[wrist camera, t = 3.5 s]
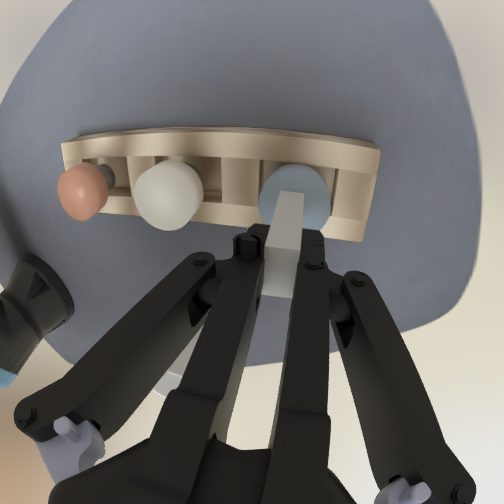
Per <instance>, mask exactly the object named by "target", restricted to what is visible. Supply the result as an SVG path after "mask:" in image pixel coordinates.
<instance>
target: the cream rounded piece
mask: <svg viewBox="0 0 504 504" xmlns="http://www.w3.org/2000/svg"><path fill="white" fill-rule="evenodd" d="M202 182H203V180H202V175H201V173H200V171H199V170H198V169H197V168H196V167H195V166H194V165H191V164H188V163H183V162H180V161H177V160H166V161H162V162H160V163H158V164H157V165H155V166H153V167H152V168H150V169H148V170H147V171H145V172H144V173H143V174H141V175H140V177H139V178H138V179H137V181H136V183H135V187H134V201H135V205H136V207H137V209H138V211H139V213H140V214H141V216H142V217H143V218H144V219H145V220H146V221H147V222H148V223H149V224H151V225H152V226H154V227H156V228H158V229H161V230H166V231H172V230H177V229H180V228H181V227H183V226H184V225H186V224H187V222H188V221H189V220H190V219H191V218H192V216H193V215H194V214H195V213H196V212H197V210H198V209H199V208H200V206H201V204H202V201H203V186H202Z"/></svg>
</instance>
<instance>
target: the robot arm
mask: <svg viewBox="0 0 504 504" xmlns="http://www.w3.org/2000/svg"><path fill="white" fill-rule="evenodd" d="M303 207H304V193H298V192H290V191H281V190H280V194H279V197H278V201H277V204H276V208H275V211H274V215H273V218H272V222H271V225H266V224H258V223H254V224H253V225H252V226H250V227H249V229H248V231H247V233H242V234H239V235H237V236H235V237H234V238H233V257H232V258H230V259H227V260H217V261H215V257H214V256H213V255H212V254H210V253H208V252H196V253H193V254H191V255H189V256H188V257H187V258H186V259H184V260H183V261H182V262H181V263H180V264H179V265H178V266H177V267H176V268H175V269H173V270H172V271H171V272H170V273H169V274H168V275H167V276H166V277H165V278H164V279H163V280H161V281H160V282H159V283H158V284H157V285H156V286H155V287H154V288H153V289H152V290H151V291H150V292H149V293H148V294H146V295H145V296H144V297H143V298H142V299H141V300H140V301H139V302H138V303H137V304H136V305H135V306H134V307H133V308H132V309H131V310H130V311H129V312H128V313H126V314H125V315H124V316H123V317H122V318H121V319H120V320H119V321H118V322H117V323H116V324H115V325H114V326H113V327H112V328H111V329H110V330H109V331H108V332H107V333H106V334H105V335H104V336H103V337H102V338H101V339H100V340H99V341H98V342H97V343H96V344H95V345H94V346H93V347H92V348H91V349H90V350H89V351H88V352H87V353H86V354H85V355H84V356H83V357H82V358H81V359H80V360H79V361H78V362H77V363H76V364H75V365H74V366H73V367H72V368H71V369H70V370H69V371H68V372H67V373H66V375H65V376H64V377H63V378H61V379H59V380H57V381H56V382H54V383H52V384H50V385H48V386H46V387H45V388H43V389H41V390H39V391H37V392H35V393H34V394H32V395H30V396H28V397H26V398H24V399H23V400H21V401H20V402H19V403H18V405H17V406H16V408H15V411H14V422H15V424H16V426H17V428H18V429H20V430H21V431H22V432H23V433H24V434H26V435H27V436H29V437H30V438H32V439H33V440H34V441H35V442H36V444H37V446H38V448H39V451H40V453H41V455H42V458H43V460H44V462H45V464H46V466H47V469H48V471H49V473H50V474H51V477H52V479H53V481H54V482H55V484H56V485H55V487H54V488H53V489H52V491H51V493H50V496H49V500H48V504H357V503H356V502H355V501H354V499H353V498H352V497H351V495H350V494H349V493H348V491H347V490H346V489H345V487H344V486H343V484H342V483H341V482H340V480H339V479H338V478H337V476H336V475H335V474H334V473H333V472H332V471H331V470H330V469H329V468H327V467H328V457H329V446H330V433H331V419H330V416H329V415H328V414H327V403H328V382H329V381H328V380H329V319H330V320H331V326H332V329H333V332H334V335H335V338H336V341H337V345H338V348H339V351H340V354H341V357H342V361H343V364H344V367H345V371H346V374H347V378H348V381H349V385H350V388H351V392H352V395H353V399H354V403H355V406H356V410H357V413H358V418H359V421H360V425H361V429H362V433H363V437H364V441H365V445H366V449H367V453H368V458H369V462H370V466H371V469H372V472H373V476H374V478H375V481H376V483H377V485H378V488H379V489H380V492H379V493H378V495H377V496H376V499H375V501H374V504H472V502H473V501H474V498H475V495H476V484H475V482H474V480H473V478H472V477H471V476H470V475H469V473H468V472H467V470H465V468H464V466H463V465H462V464H461V462H460V461H459V460H458V459H457V457H456V456H455V455H454V453H453V452H452V451H451V449H450V448H449V447H448V446H447V444H446V443H445V440H444V437H443V434H442V432H441V429H440V426H439V423H438V421H437V418H436V415H435V412H434V410H433V407H432V405H431V402H430V400H429V397H428V395H427V392H426V390H425V388H424V385H423V383H422V380H421V378H420V376H419V373H418V371H417V369H416V367H415V364H414V362H413V360H412V358H411V355H410V353H409V351H408V349H407V347H406V345H405V343H404V340H403V339H402V336H401V334H400V332H399V330H398V328H397V326H396V324H395V322H394V320H393V318H392V316H391V314H390V312H389V311H388V309H387V307H386V305H385V303H384V301H383V299H382V297H381V295H380V294H379V292H378V290H377V288H376V286H375V284H374V283H373V281H372V279H371V278H370V277H369V276H368V275H366V274H365V273H363V272H360V271H348V272H347V273H345V275H344V276H341V275H338V274H336V273H334V272H332V271H330V270H329V269H328V266H327V263H326V262H325V249H324V235H323V234H322V233H321V232H320V230H313V229H305V228H302V222H303ZM261 291H262V295H268V296H276V297H283V298H290V299H292V304H291V310H290V316H289V318H290V319H289V326H288V333H287V340H286V347H285V354H284V361H283V367H282V374H281V380H280V386H279V393H278V398H277V404H276V409H275V415H274V420H273V426H272V431H271V436H270V441H269V445H268V449H256V450H239V449H236V448H234V447H232V446H230V445H228V444H226V438H227V431H228V427H229V423H230V419H231V415H232V412H233V408H234V404H235V400H236V396H237V393H238V389H239V384H240V381H241V377H242V373H243V369H244V366H245V362H246V358H247V354H248V350H249V346H250V342H251V338H252V334H253V330H254V326H255V322H256V318H257V313H258V309H259V305H260V298H261ZM73 313H74V306H73V302H72V299H71V297H70V295H69V293H68V291H67V289H66V288H65V286H64V285H63V283H62V282H61V280H60V279H59V278H58V276H57V275H56V274H55V273H54V272H53V271H52V270H51V268H50V267H49V266H47V265H46V264H45V263H44V262H43V261H41V260H40V259H38V258H37V257H35V256H32V255H27V256H25V257H24V258H23V259H22V260H21V261H20V262H19V263H18V264H17V266H16V268H15V270H14V271H13V273H12V275H11V277H10V279H9V281H8V283H7V286H6V287H5V289H4V290H3V291H2V292H1V293H0V388H6V387H8V386H9V385H10V384H11V383H12V381H13V380H14V379H15V378H16V376H18V373H19V371H20V370H21V368H22V367H23V365H24V364H25V362H26V361H27V360H28V358H29V357H30V355H31V354H32V352H33V351H34V350H35V348H36V347H37V345H38V344H39V343H40V341H41V340H42V339H43V337H44V336H45V335H47V334H48V333H50V332H51V331H53V330H55V329H56V328H58V327H59V326H61V325H62V324H64V323H66V322H67V321H68V320H69V318H70V317H71V316H72V315H73ZM202 326H203V328H202V330H201V333H200V335H199V337H198V340H197V342H196V345H195V347H194V349H193V352H192V354H191V357H190V359H189V362H188V364H187V367H186V369H185V371H184V374H183V376H182V379H181V381H180V384H179V386H178V387H177V388H176V389H172V390H171V391H170V392H169V393H168V395H167V397H166V399H165V401H164V404H163V406H162V408H161V411H160V414H159V416H158V418H157V421H156V423H155V426H154V428H153V431H152V433H151V435H150V438H147V439H145V440H143V441H142V442H140V443H138V444H136V445H134V446H132V447H130V448H129V449H127V450H125V451H123V452H121V453H119V454H117V455H115V456H113V457H112V458H109V459H108V460H106V461H104V462H102V463H99V464H98V465H95V466H94V464H95V462H96V461H97V460H98V459H101V458H102V457H103V456H104V455H105V449H104V447H105V445H104V441H106V440H107V439H109V438H110V437H111V436H112V435H113V434H115V433H116V432H117V431H118V430H119V429H120V428H121V427H122V426H123V425H124V423H125V422H126V421H127V420H128V419H129V417H130V416H131V415H132V414H133V412H134V411H135V410H136V409H137V408H138V406H139V405H140V404H141V403H142V401H143V400H144V399H145V398H146V396H147V395H148V394H149V393H150V391H151V390H152V389H153V388H154V386H155V385H156V384H157V383H158V381H159V380H160V379H161V378H162V376H163V375H164V374H165V373H166V371H167V370H168V369H169V368H170V366H171V365H172V364H173V363H174V361H175V360H176V359H177V358H178V356H179V355H180V354H181V352H182V351H183V350H184V349H185V347H186V346H187V345H188V344H189V342H190V341H191V340H192V339H193V337H194V336H195V335H196V334H197V332H198V331H199V330H200V329H201V327H202Z"/></svg>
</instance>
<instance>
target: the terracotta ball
mask: <svg viewBox="0 0 504 504" xmlns="http://www.w3.org/2000/svg"><path fill="white" fill-rule="evenodd" d="M115 181H116V179H115V174H114V172H113V170H112V169H111V168H110V167H109V166H108V165H106V164H100V165H98V166H94V165H93V164H91V163H87V162H84V163H80V164H78V165H76V166H74V167H72V168H70V169H68V170H67V171H65V172H63V173H62V174H61V176H60V177H59V180H58V185H57V190H58V196H59V200H60V202H61V204H62V206H63V208H64V209H65V211H66V212H67V213H68V214H69V215H70V216H71V217H72V218H74V219H76V220H79V221H85V220H88V219H89V218H90V217H92V216H93V215H94V214H96V213H97V212H98V211H99V210H101V209H102V208H103V207H104V206H105V204H106V203H107V199H108V191H110V190H111V189H112V188H113V187H114V186H115Z"/></svg>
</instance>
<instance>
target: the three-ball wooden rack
mask: <svg viewBox="0 0 504 504" xmlns="http://www.w3.org/2000/svg"><path fill="white" fill-rule="evenodd" d="M61 147H62V154H63V160H64V165H65V171H67V170H68V169H70V168H72V167H74V166H76V165H78V164H80V163H84V162H87V163H91V164H93V165H94V166H98V165H100V164H106V165H108V166H109V167H110V168H111V169H112V170H113V172H114V174H115V179H116V181H115V186H114V187H113V188H112V189H111V190H110V191H108V199H107V203H106V204H105V206H104V207H103V208H102V209H101V210H99V211H98V212H99V213H111V214H123V215H134V216H141V214H140V213H139V211H138V209H137V207H136V205H135V201H134V187H135V183H136V181H137V179H138V178H139V177H140V175H141V174H143V173H144V172H145V171H147V170H148V169H150V168H152V167H153V166H155V165H157V164H158V163H160V162H162V161H166V160H177V161H180V162H183V163H188V164H191V165H194V166H195V167H196V168H197V169H198V170H199V171H200V173H201V175H202V180H203V182H202V186H203V201H202V204H201V206H200V208H199V209H198V210H197V212H196V213H195V214H194V215H193V216H192V218H191V219H190V220H189V221H194V222H204V223H213V224H222V225H231V226H239V227H248V228H249V227H250V226H252V225H253V224H254V223H258V224H265V223H264V222H263V220H262V218H261V216H260V213H259V209H258V199H259V195H260V192H261V190H262V188H263V186H264V184H265V182H266V180H267V178H268V177H269V175H270V174H271V173H272V172H273V171H275V170H276V169H277V168H279V167H281V166H284V165H288V164H301V165H306V166H308V167H311V168H313V169H314V170H316V171H317V172H318V173H319V174H320V175H321V176H322V177H323V178H324V180H325V182H326V184H327V186H328V190H329V195H330V203H331V211H330V215H329V218H328V220H327V222H326V224H325V225H324V226H323V228H322V229H321V230H320V232H321V233H322V234H323V235H324V237H326V238H333V239H341V240H348V241H355V242H362V240H363V236H364V232H365V228H366V224H367V219H368V215H369V211H370V206H371V202H372V197H373V192H374V188H375V183H376V177H377V172H378V167H379V161H380V155H381V150H380V149H379V148H378V147H377V146H376V145H375V144H374V143H372V142H367V141H362V140H356V139H350V138H344V137H338V136H331V135H324V134H316V133H308V132H299V131H289V130H278V129H265V128H247V127H164V128H147V129H134V130H124V131H114V132H105V133H98V134H90V135H84V136H78V137H76V138H73V139H71V140H68V141H66V142H63V143H61Z"/></svg>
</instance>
